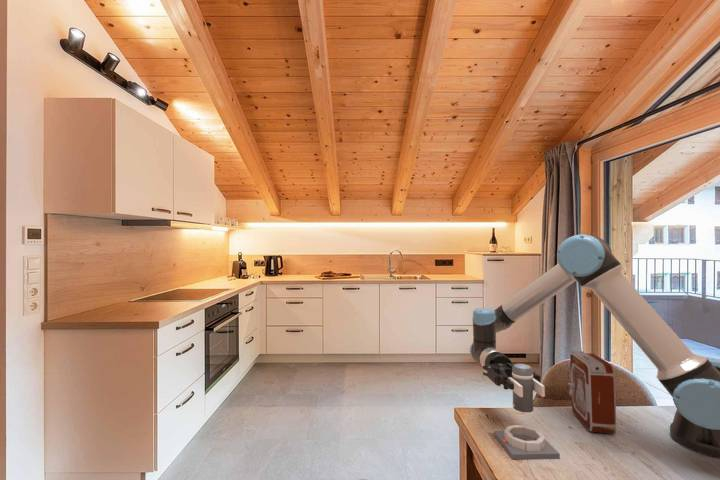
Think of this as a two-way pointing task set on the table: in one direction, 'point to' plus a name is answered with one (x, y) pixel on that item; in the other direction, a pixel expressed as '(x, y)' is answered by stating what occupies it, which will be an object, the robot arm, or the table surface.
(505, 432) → the mount plate
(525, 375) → the lens
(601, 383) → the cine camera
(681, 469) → the table surface
